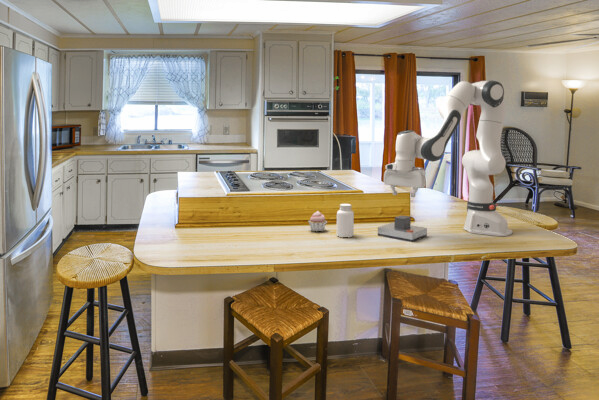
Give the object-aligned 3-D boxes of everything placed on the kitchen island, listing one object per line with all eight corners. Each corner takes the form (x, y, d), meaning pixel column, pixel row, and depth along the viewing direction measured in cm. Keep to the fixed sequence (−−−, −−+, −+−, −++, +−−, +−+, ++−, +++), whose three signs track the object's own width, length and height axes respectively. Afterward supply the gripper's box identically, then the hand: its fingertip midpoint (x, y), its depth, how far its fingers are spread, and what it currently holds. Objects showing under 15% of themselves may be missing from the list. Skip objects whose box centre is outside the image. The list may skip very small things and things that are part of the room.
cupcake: (322, 228, 244) (323, 208, 242) (329, 232, 235) (330, 212, 234) (305, 229, 241) (305, 209, 239) (311, 233, 232) (311, 213, 231)
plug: (410, 232, 228) (410, 216, 227) (403, 234, 224) (404, 218, 223) (400, 230, 232) (401, 215, 230) (394, 233, 227) (394, 217, 226)
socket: (426, 236, 227) (427, 226, 227) (411, 242, 217) (412, 232, 216) (393, 230, 239) (393, 221, 238) (377, 235, 229) (377, 225, 228)
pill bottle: (355, 234, 231) (355, 203, 228) (351, 238, 223) (351, 206, 220) (338, 233, 233) (339, 202, 230) (334, 237, 226) (334, 205, 223)
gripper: (428, 167, 218) (427, 197, 221) (389, 164, 232) (388, 192, 234) (422, 168, 214) (420, 199, 216) (382, 165, 227) (381, 194, 229)
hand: (403, 195), depth 225 cm, fingers open, 8 cm apart
